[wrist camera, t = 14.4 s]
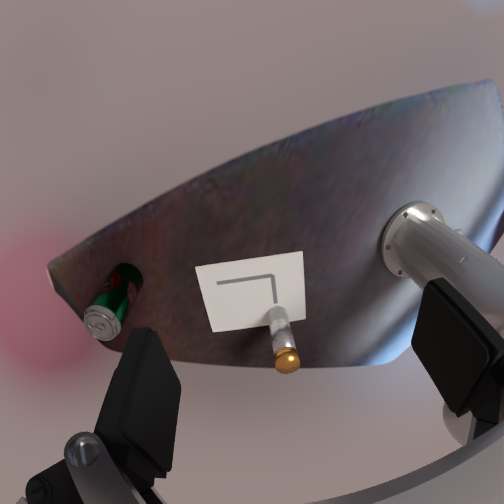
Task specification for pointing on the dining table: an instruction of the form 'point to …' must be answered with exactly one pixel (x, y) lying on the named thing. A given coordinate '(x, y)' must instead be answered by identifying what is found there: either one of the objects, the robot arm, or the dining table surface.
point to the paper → (252, 290)
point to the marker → (282, 341)
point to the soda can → (113, 302)
